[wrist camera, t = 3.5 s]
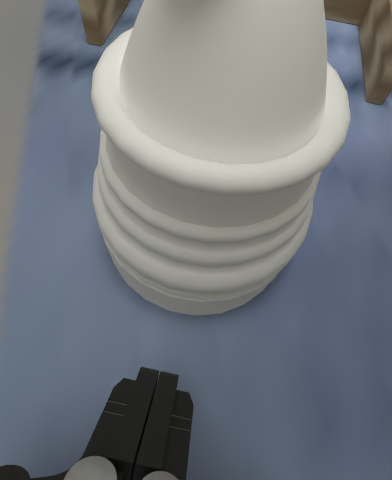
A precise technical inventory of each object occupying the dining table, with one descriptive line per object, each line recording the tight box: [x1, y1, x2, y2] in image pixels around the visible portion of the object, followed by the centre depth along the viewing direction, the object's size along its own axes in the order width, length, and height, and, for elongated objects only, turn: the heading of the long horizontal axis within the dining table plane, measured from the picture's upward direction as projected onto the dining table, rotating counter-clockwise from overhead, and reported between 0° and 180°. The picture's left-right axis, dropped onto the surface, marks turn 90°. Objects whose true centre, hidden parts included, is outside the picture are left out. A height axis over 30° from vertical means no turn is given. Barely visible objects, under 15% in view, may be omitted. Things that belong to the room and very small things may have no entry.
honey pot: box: [91, 0, 351, 316], centre depth 14 cm, size 13×13×18 cm
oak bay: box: [78, 0, 392, 105], centre depth 32 cm, size 16×31×5 cm, turn 79°
